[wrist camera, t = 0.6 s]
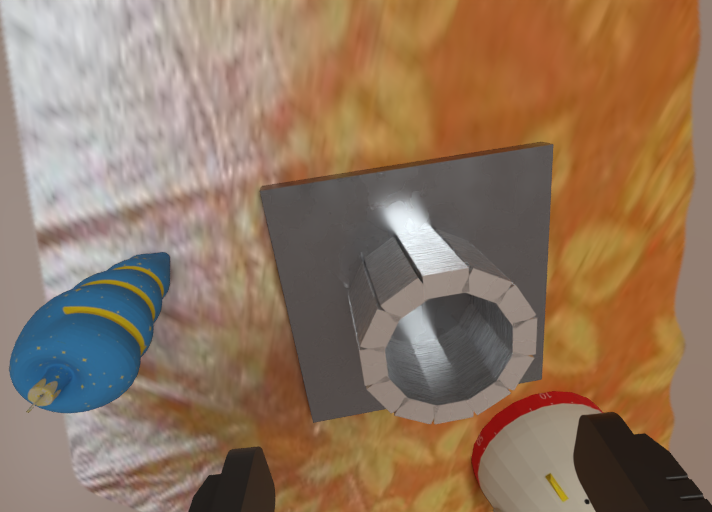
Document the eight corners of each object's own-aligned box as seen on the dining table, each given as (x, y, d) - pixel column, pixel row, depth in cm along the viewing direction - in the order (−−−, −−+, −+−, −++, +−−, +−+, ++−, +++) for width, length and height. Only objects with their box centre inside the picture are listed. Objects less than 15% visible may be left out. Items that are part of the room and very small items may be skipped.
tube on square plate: (262, 186, 28) (244, 222, 20) (541, 141, 29) (628, 160, 21) (313, 409, 36) (314, 498, 28) (532, 368, 37) (594, 443, 29)
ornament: (215, 256, 30) (135, 400, 16) (172, 303, 31) (60, 478, 17) (153, 208, 28) (1, 324, 14) (109, 260, 29) (-73, 416, 15)
